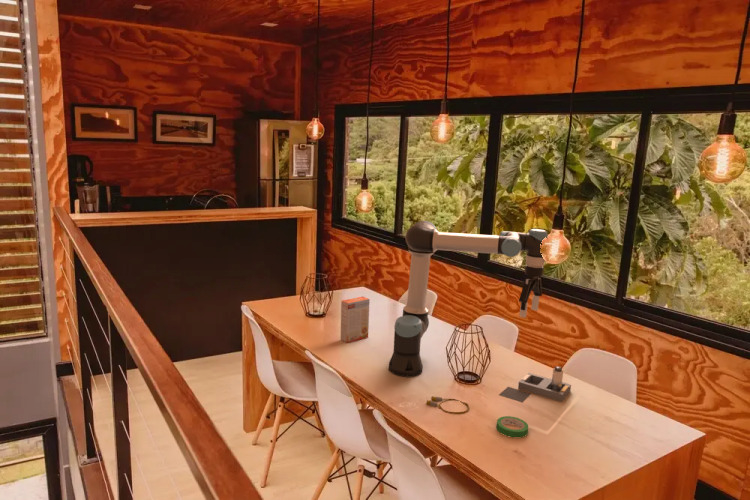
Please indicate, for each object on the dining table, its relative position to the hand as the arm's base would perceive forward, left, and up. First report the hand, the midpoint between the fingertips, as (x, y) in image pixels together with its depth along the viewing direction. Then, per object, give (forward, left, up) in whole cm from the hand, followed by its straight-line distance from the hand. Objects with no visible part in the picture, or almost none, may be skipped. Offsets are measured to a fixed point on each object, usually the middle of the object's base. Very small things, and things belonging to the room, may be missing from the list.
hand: (528, 313), depth 240 cm
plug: (-10, -18, -28) cm, 35 cm away
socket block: (-10, -13, -29) cm, 33 cm away
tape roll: (-48, -14, -30) cm, 58 cm away
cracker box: (-14, +83, -29) cm, 89 cm away
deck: (-22, -5, -29) cm, 37 cm away
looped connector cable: (-46, +12, -30) cm, 56 cm away
